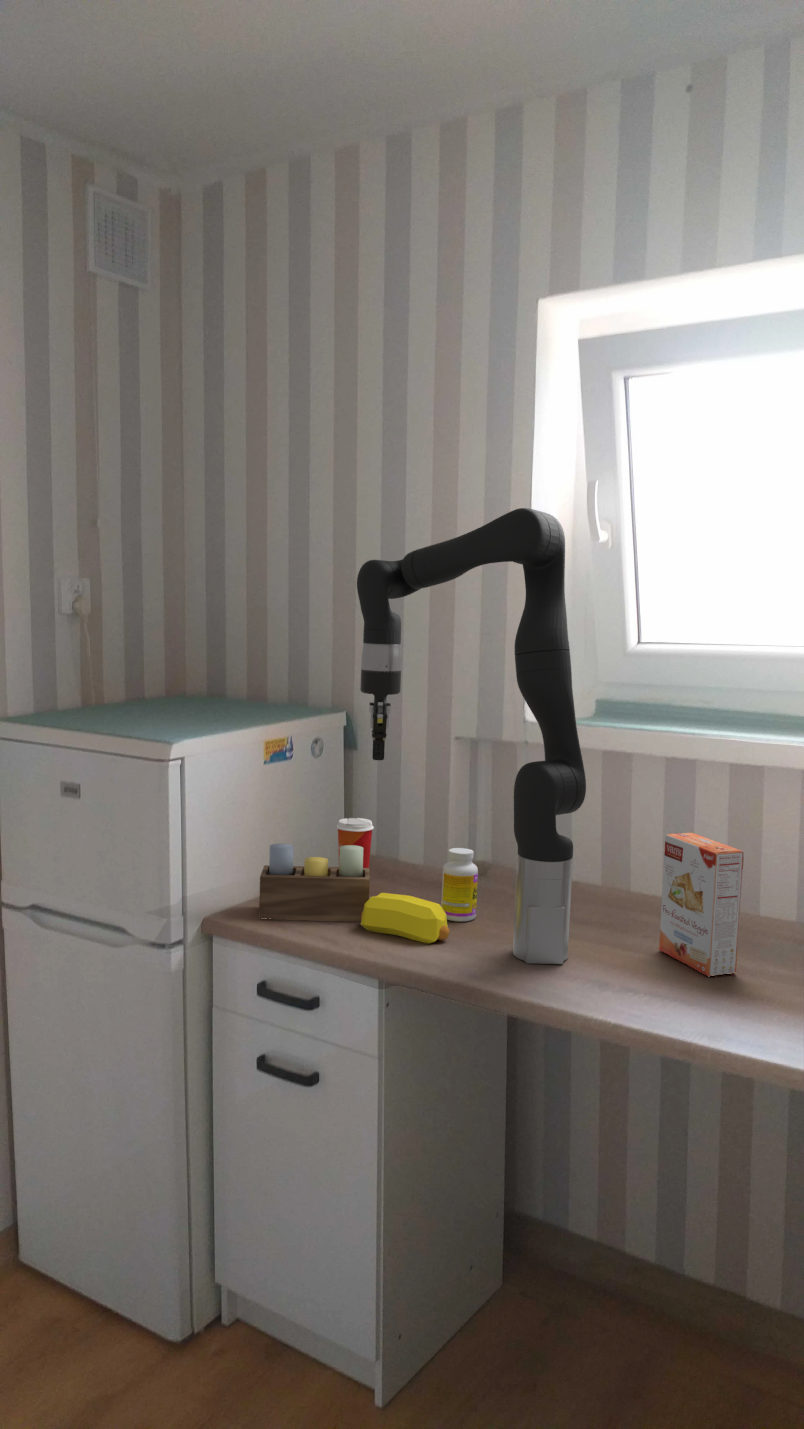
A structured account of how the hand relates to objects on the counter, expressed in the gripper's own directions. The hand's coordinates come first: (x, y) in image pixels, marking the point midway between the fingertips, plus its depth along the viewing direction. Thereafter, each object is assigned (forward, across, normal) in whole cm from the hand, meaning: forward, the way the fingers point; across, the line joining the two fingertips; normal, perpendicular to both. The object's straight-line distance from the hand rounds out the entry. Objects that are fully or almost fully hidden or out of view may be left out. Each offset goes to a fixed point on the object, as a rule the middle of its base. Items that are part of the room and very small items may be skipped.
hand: (378, 759), depth 199 cm
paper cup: (+29, +15, +4) cm, 33 cm away
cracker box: (+29, -27, -54) cm, 67 cm away
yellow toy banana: (+29, -14, -5) cm, 33 cm away
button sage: (+22, -4, +5) cm, 23 cm away
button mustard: (+25, -4, +11) cm, 27 cm away
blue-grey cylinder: (+22, -4, +18) cm, 29 cm away
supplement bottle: (+29, -4, -16) cm, 34 cm away
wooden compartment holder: (+29, -4, +11) cm, 31 cm away
